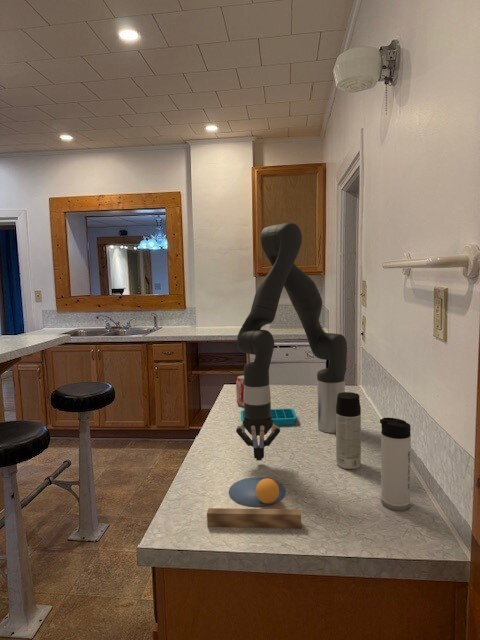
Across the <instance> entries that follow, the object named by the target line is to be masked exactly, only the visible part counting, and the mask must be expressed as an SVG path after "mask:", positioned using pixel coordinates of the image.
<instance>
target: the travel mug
mask: <svg viewBox="0 0 480 640" xmlns="http://www.w3.org/2000/svg"><path fill="white" fill-rule="evenodd" d="M379 423H380V424H381V428H380V429H381V432H380V435H381V436H380V439H381V440H380V443H381V444H380V446H381V447H380V450H381V454H380V460H381V461H380V463H381V464H380V465H381V466H380V468H381V469H380V470H381V471H380V477H381V480H380V481H381V482H380V483H381V486H380V487H381V489H380V490H381V491H380V495H381V496H380V499H381V500H380V501H381V504H382V505H383V506H384V507H386V508H387V509H389V510H391V511H392V510H393V511H397V512H403V511H406V510H409V508H411V473H412V472H411V459H412V457H411V456H412V454H411V453H412V451H411V447H412V444H411V443H412V442H411V441H412V438H411V437H412V435H411V424H410V423H408V422H407V421H406V420H404V419H400V418H395V417H383V418H380V419H379Z"/></svg>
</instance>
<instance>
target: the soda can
mask: <svg viewBox="0 0 480 640" xmlns="http://www.w3.org/2000/svg"><path fill="white" fill-rule="evenodd" d="M236 378H237V379H236V384H235V385H236V386H235V390H236V392H235V393H236V404H237V405H238V406H240V407H242V408H244V400H243V397H244V374H242V375H238V376H237V377H236Z"/></svg>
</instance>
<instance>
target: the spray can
mask: <svg viewBox="0 0 480 640" xmlns="http://www.w3.org/2000/svg"><path fill="white" fill-rule="evenodd" d="M361 409H362V408H361V402H360V394H358V393H355V392H349V391H347V392H346V391H345V392H342V393H339V394H338V396H337V404H336V433H335V438H336V439H335V440H336V441H335V443H336V445H335V446H336V449H335V450H336V454H335V457H336V458H335V459H336V461H335V462H336V465H337V466H338V467H339V468H340V469H343V470H357V469H358V468H360V467H361V465H362V460H361V459H362V417H361V415H362V413H361Z"/></svg>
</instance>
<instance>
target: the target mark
mask: <svg viewBox="0 0 480 640" xmlns="http://www.w3.org/2000/svg"><path fill="white" fill-rule="evenodd" d="M266 478H268V477H263V476H262V477H261V476H257V477H256V476H253V477H251V476H250V477H247V478H242V479H240V480H237V481H236V482H234V483H233V484H232V485H230V487H229V489H228V495H229V498H230V499H231V500H232V501H233V502H235V503H237V504H239V505H242V506H244V507H245V506H246V507H250V508H251V507H255V508H257V507H258V508H260V507H267V506H271V505H274V504H277V503H278V502H280V501H282V499H284V497H285V496H286V495H285V494H286V488H285V487H284V485H283V484H282V483H281V482H279V481H278V480H275V479H274V478H273V479H272V478H268V479H272V480H274V481H275V482H276V483H277V485H278V487H279V495H278V498H277V499H276V500H275V501H274V502H272V503H269V504H266V503H263V502H261V501H260V500H259V499H258V497H257V495H256V486H257V484H258V483H259V482H260V481H261V480H262V479H266Z"/></svg>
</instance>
